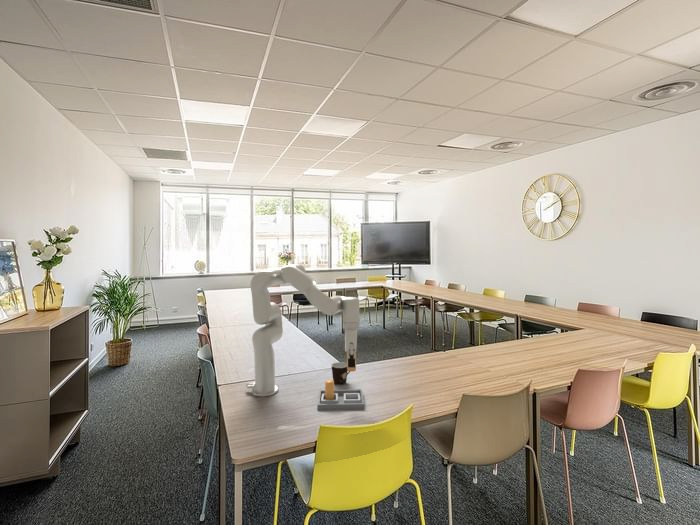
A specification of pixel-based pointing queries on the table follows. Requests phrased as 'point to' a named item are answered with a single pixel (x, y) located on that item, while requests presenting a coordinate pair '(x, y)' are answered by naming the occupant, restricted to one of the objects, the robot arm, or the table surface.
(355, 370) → the pin
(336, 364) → the coffee mug
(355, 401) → the grey pin holder tray
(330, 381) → the pin
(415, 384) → the table surface
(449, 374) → the table surface
